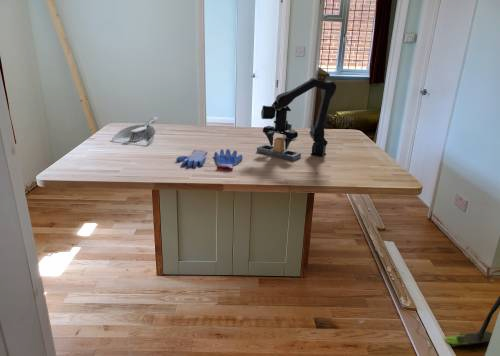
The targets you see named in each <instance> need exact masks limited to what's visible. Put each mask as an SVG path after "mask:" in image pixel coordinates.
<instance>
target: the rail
mask: <svg viewBox="0 0 500 356" xmlns="http://www.w3.org/2000/svg"><path fill="white" fill-rule="evenodd" d="M256 152H257V153H259V154H260V153H261V154H263V155H267V156H271V157H275V158H279V159H282V160H286V161H290V162H295V161H297V160H299V159H301V157H302V156H301V155H302V153H301V152H297V151H293V150H291V149H287V150H286V149H285V148H284V151H283V152H281V153H280V152H276V151H274V145H273V146H271V145H270V144H263V145H260V146H258V147H256Z"/></svg>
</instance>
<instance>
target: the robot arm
mask: <svg viewBox="0 0 500 356" xmlns="http://www.w3.org/2000/svg"><path fill="white" fill-rule="evenodd" d="M313 88H319V89H321V91H320V93H321V100H320V104H319V107H318V108H319V109H318V112H317V116H316V120H315V124H314V125H313V126H312V125H311V126H310V131H309V135H310V138H311V139H312V141H313V144H312V145H311V146H312V147H311V152H310V154H311V155H313V156H317V157H319V158H320V157H324V156H325V155H327V153H326V148H327V146H328V143H329V142H328V141H327V139H326V138H325V124H326V119H327V115H328V111H329V106H330V103H331V102H330V101H331V99H332V98H333V96H334V95H335V93H336V90H337V85H336V83H335V82H333V81H332V80H328V79H327V80H321V79H318V78H315V77H311V78H310V79H309V80H307V81H305V82H304V83H302V84H300V85H298V86H297V87H295V88H293V89H292V90H289V91H285V92H281V93H279V94H278V95H276V98H275V101H273V103H272V104H271V105H262V109H261V110H260V111H261V113H260V114H261V115H260V117H261V120H273V119H274V118H275V120H274V121H273V123H274V126H272V125H267V126H264V127H263V128H262V133H264V135H265V136H266V138H267V140H268V142H269V146H273V147H274V136H275V134H277V135H278V134H279V135H282V136H283V135H286V137H287V138H285V143H284V149H286V150H288V148H289V145H290V143H291V142H292V141H293V140H292V139H294V138H296V139H297V138H298V136H299V133H298V132H297V130H295V131H291V127H293V125H292V124H290V123H289V122H288V121H289V120H287V118H288V117H287V116H288V115H287V114H288V112H291V111H292V109H291V108H290V106H289V105H290V104H291V103H292V102H293V101H294V100H295V99H296V98H298V97H300V96H301V95H303V94H304V93H306V92H308V91H309V90H313ZM294 140H295V139H294Z"/></svg>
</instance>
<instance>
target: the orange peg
mask: <svg viewBox="0 0 500 356" xmlns="http://www.w3.org/2000/svg"><path fill="white" fill-rule="evenodd" d="M273 147H274V151H276V152H280V153H281V152H283V151H284V149H285V139H284V138H283V137H278V136H277V137H275V138H273Z"/></svg>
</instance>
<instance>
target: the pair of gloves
mask: <svg viewBox="0 0 500 356" xmlns="http://www.w3.org/2000/svg"><path fill="white" fill-rule="evenodd" d="M219 150H220V151H219V153H220V154H219V153H218V152H217V151H214V160H215V163H216V165H217V166H216V169H217V170H220V171H228V172H229V171H230V170H231V171H233V169H234V168H233V167H234V166H237V164H238V163H241V162H242V160H243V154H239V155H238V156H237V154H238V151H237V150H233V151H232V153H231V150H230V149H228V148H227V149H226V151H225V150H224V149H219ZM207 154H208V151H207V150H197V149H194V150H193V151H192V153H191V154H189V155H179V156H178V157H176V163H181V168H185V167H186V169H188V170H189V169H191V168H192V169H197V167H198V166H199V168H203V167H204V164H205V162H206V159H207V158H206V155H207Z"/></svg>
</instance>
